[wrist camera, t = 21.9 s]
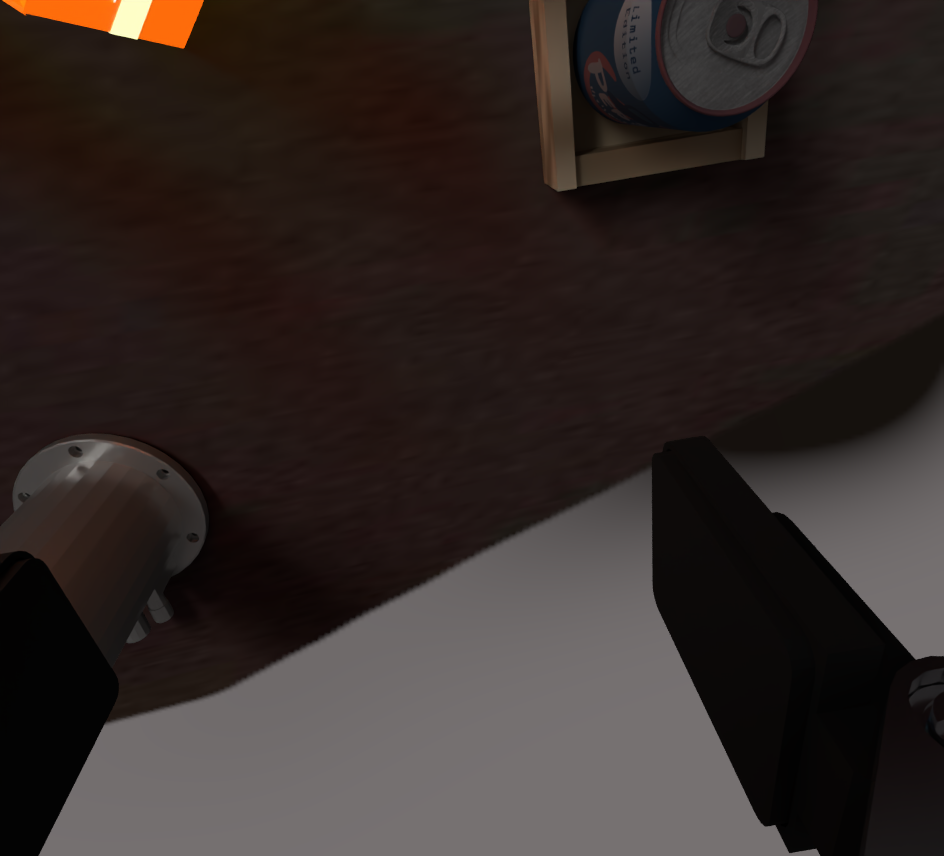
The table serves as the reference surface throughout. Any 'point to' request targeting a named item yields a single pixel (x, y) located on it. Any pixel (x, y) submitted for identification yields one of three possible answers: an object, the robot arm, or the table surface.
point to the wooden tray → (606, 142)
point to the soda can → (688, 58)
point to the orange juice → (122, 16)
